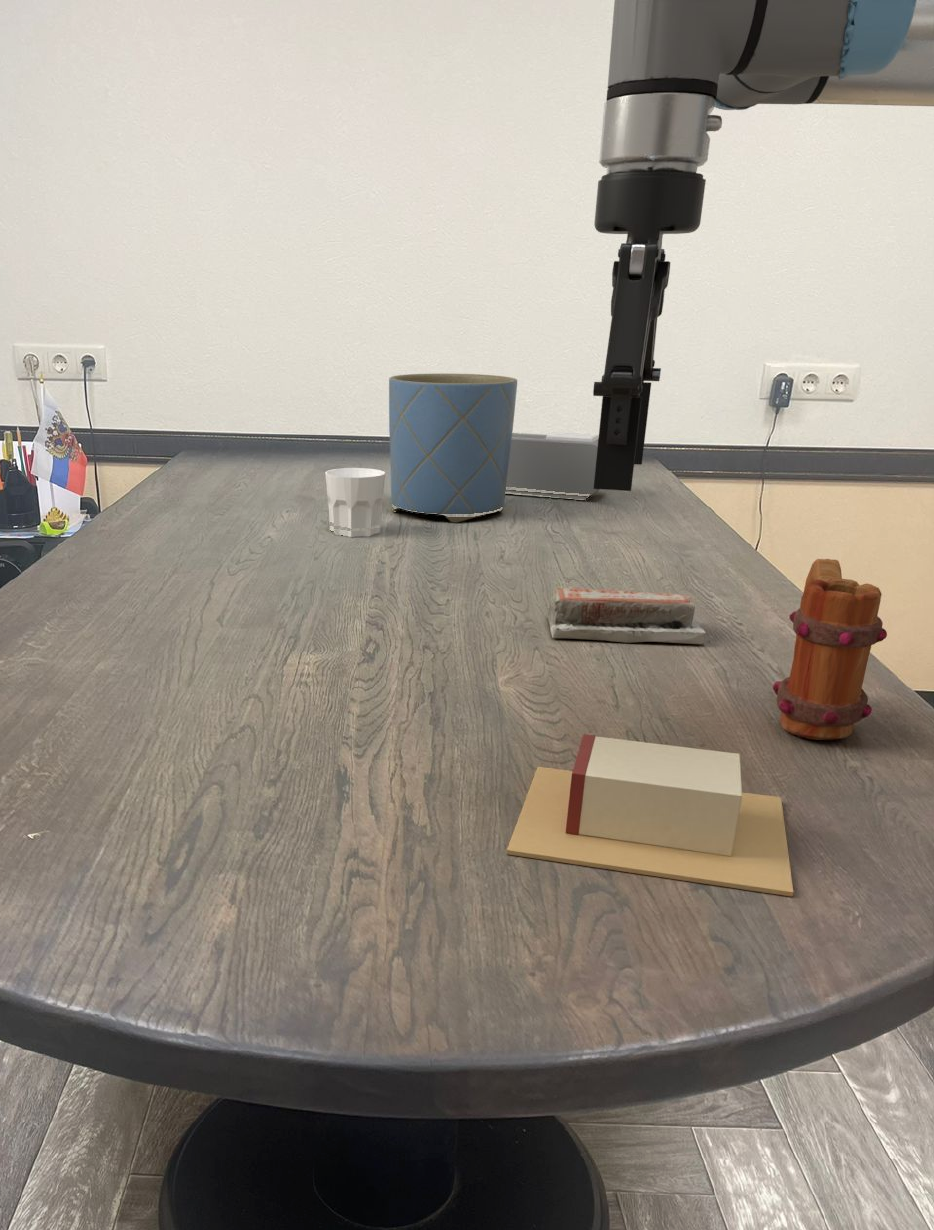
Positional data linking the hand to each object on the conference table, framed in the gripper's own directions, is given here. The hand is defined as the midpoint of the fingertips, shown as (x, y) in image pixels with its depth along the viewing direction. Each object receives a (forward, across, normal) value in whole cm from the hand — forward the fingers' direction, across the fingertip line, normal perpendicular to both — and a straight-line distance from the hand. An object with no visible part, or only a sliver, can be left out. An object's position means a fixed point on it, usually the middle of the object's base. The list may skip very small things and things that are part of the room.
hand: (619, 476), depth 86 cm
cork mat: (+25, -12, -6) cm, 28 cm away
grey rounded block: (+25, +134, +24) cm, 138 cm away
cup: (+25, +86, +48) cm, 102 cm away
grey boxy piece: (+25, +41, 0) cm, 48 cm away
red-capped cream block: (+24, -12, -6) cm, 28 cm away
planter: (+25, +109, +37) cm, 118 cm away
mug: (+25, +16, -20) cm, 35 cm away
